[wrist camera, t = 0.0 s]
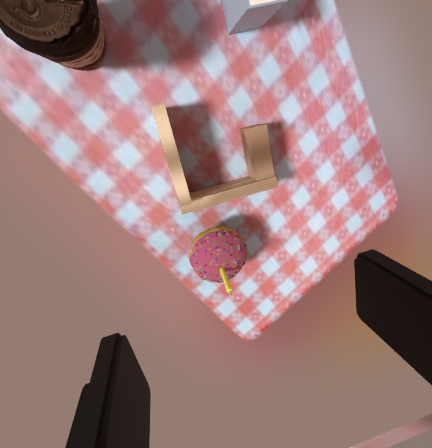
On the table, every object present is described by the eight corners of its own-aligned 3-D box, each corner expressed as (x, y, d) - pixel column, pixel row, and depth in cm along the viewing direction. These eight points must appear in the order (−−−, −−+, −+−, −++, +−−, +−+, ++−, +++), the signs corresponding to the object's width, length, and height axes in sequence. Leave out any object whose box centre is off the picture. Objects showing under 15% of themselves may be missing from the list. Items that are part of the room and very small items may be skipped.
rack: (151, 110, 36) (150, 106, 30) (250, 86, 37) (266, 79, 32) (179, 205, 40) (183, 217, 35) (265, 181, 42) (282, 189, 36)
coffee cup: (132, 36, 33) (118, -19, 21) (97, 96, 34) (64, 78, 22) (60, -23, 30) (-6, -129, 18) (25, 45, 31) (-60, -9, 19)
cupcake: (238, 263, 46) (264, 305, 35) (188, 270, 44) (198, 317, 33) (237, 214, 43) (265, 244, 32) (183, 221, 41) (193, 254, 30)
